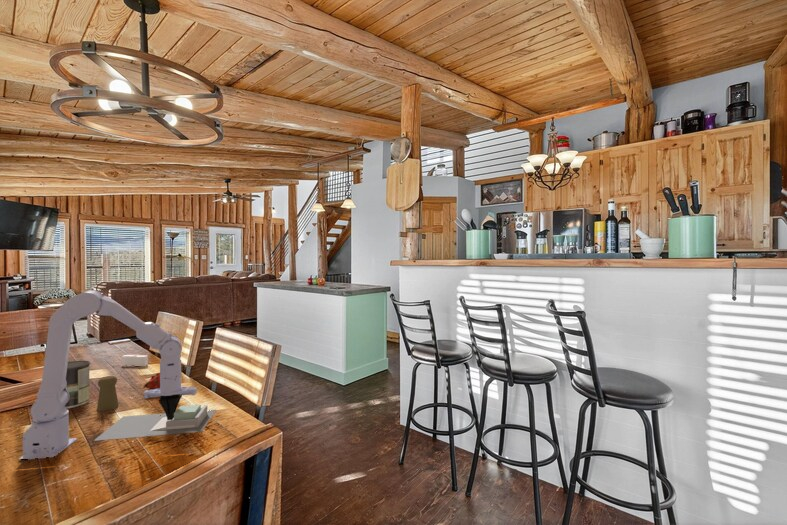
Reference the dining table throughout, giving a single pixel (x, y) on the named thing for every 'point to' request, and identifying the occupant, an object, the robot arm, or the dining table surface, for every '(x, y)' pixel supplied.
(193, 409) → the cart
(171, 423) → the dock
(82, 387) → the coffee can
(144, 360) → the napkin holder
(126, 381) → the dining table surface
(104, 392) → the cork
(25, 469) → the dining table surface
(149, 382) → the dragon fruit
